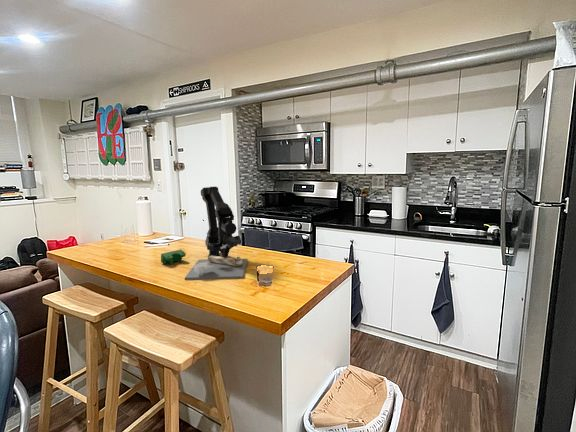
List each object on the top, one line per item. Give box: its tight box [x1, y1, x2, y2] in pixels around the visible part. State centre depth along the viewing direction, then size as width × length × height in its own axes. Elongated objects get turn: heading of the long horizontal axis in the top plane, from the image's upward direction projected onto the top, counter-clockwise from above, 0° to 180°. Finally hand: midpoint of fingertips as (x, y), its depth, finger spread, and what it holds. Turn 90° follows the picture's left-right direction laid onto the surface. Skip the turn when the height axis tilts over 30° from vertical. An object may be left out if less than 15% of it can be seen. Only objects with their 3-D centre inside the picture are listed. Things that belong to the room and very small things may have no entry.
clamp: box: [160, 249, 186, 266], centre depth 166 cm, size 12×6×9 cm, turn 133°
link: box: [207, 256, 243, 266], centre depth 160 cm, size 20×4×4 cm, turn 64°
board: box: [184, 258, 248, 281], centre depth 155 cm, size 28×26×1 cm
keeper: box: [193, 261, 214, 277], centre depth 146 cm, size 8×7×5 cm
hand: (225, 259), depth 164 cm, fingers closed
